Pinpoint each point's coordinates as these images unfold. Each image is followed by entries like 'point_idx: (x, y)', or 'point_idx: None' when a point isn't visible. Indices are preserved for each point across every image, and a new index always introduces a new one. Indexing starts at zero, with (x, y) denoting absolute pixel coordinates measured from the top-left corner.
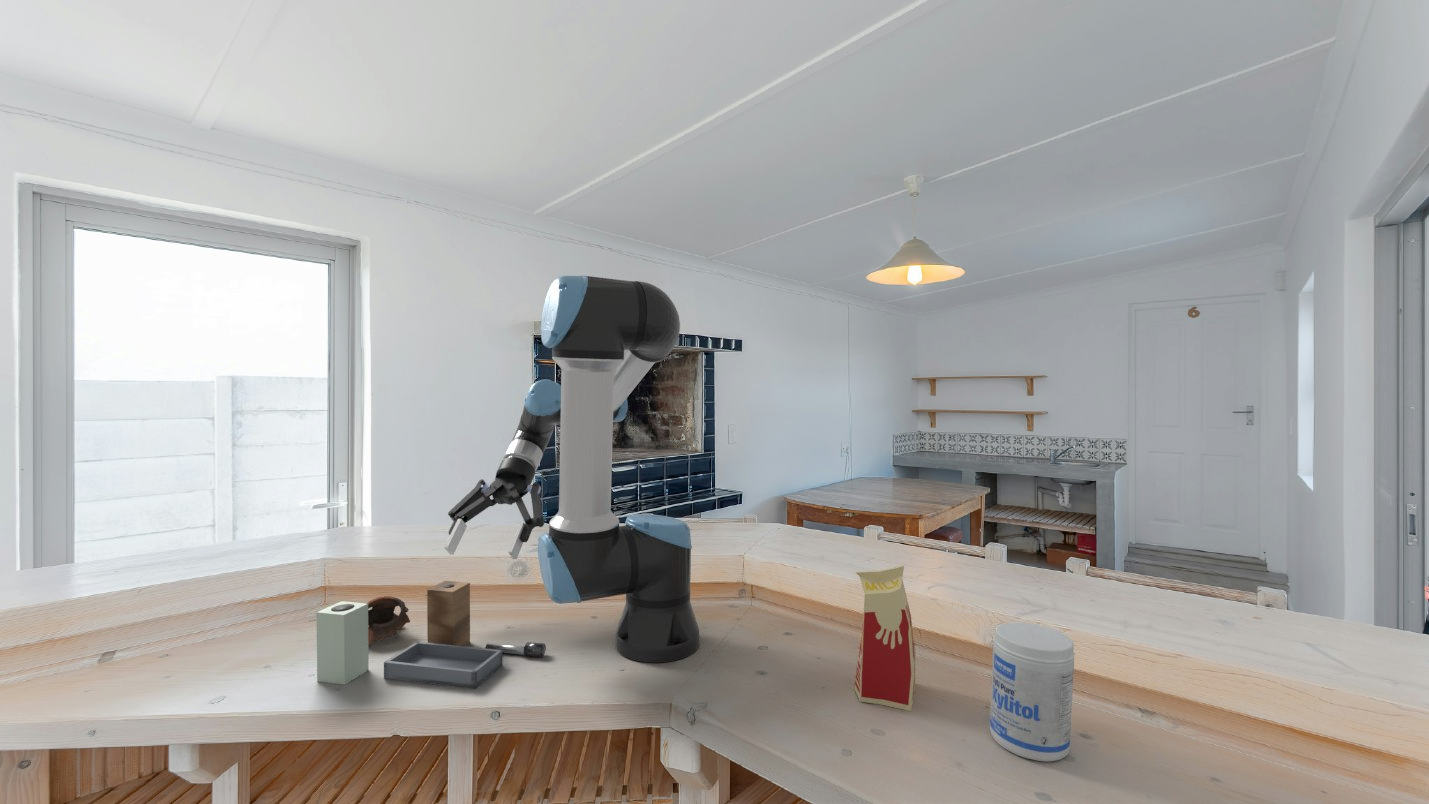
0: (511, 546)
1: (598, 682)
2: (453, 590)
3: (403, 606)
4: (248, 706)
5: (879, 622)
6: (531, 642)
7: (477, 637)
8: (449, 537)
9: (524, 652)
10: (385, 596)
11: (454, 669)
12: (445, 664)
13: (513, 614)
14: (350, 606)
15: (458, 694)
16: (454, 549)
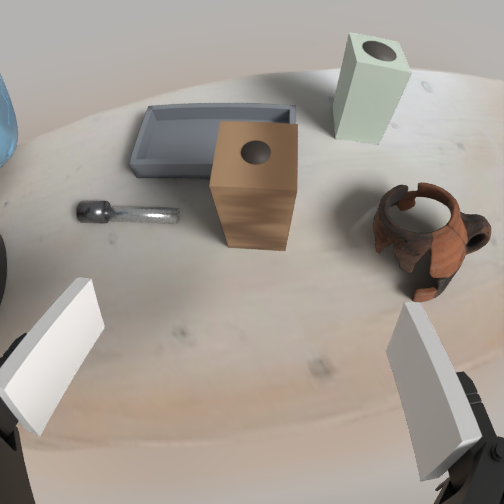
0: (72, 292)
1: (27, 170)
2: (224, 129)
3: (397, 230)
4: None
5: None
6: (94, 210)
7: (226, 273)
8: (436, 338)
9: (108, 202)
10: (449, 230)
11: (178, 104)
12: None
13: (205, 406)
14: (372, 52)
15: None
16: (393, 358)
